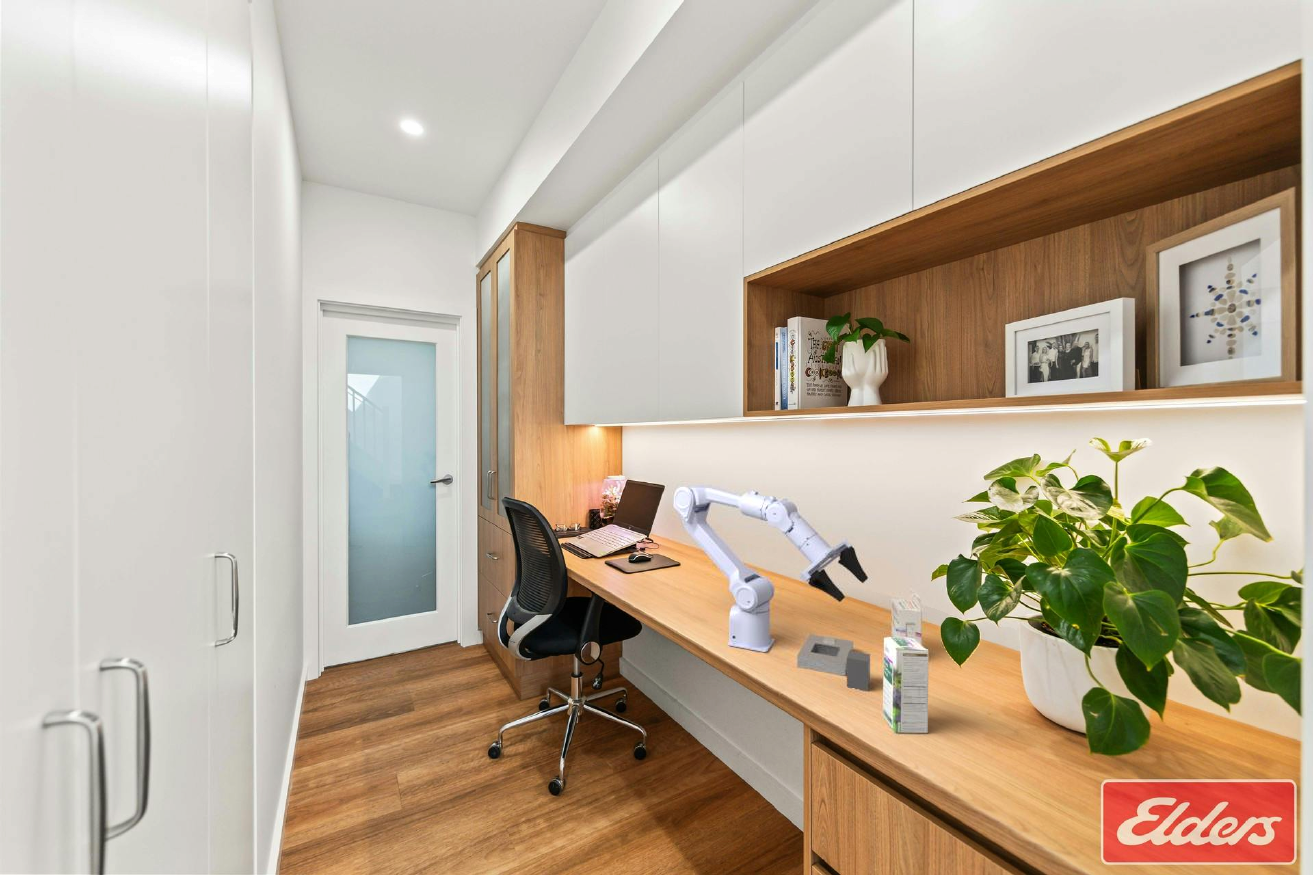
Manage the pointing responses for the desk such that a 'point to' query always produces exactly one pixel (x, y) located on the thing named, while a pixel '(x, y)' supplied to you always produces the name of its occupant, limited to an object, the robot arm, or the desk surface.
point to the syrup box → (905, 685)
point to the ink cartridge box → (907, 617)
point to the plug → (858, 670)
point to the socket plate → (825, 654)
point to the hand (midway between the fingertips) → (854, 589)
